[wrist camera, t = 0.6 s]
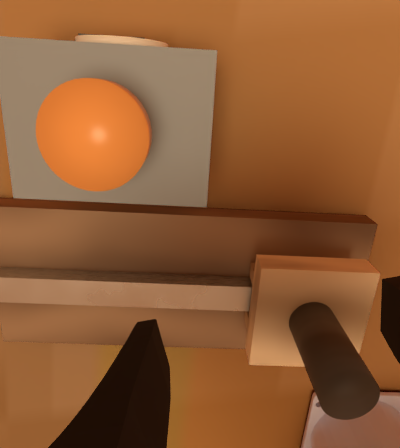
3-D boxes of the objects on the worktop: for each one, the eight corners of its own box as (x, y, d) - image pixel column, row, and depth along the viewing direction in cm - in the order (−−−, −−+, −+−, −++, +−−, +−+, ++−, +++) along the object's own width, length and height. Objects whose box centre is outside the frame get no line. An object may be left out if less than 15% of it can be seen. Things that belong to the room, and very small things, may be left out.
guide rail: (349, 303, 23) (358, 315, 21) (3, 290, 22) (-7, 301, 21) (355, 281, 22) (364, 291, 21) (-1, 266, 21) (-11, 277, 20)
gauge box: (202, 174, 21) (206, 207, 15) (61, 167, 21) (13, 198, 15) (210, 48, 19) (218, 33, 13) (51, 38, 18) (-10, 18, 13)
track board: (337, 337, 25) (345, 352, 24) (14, 326, 24) (3, 341, 23) (365, 215, 22) (377, 224, 21) (-6, 197, 21) (-20, 205, 20)
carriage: (336, 335, 23) (404, 452, 16) (242, 332, 23) (266, 449, 15) (356, 249, 21) (445, 338, 14) (252, 245, 21) (285, 332, 13)
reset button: (154, 176, 15) (147, 193, 13) (65, 172, 15) (41, 188, 12) (155, 82, 14) (148, 81, 11) (57, 76, 13) (29, 74, 11)
